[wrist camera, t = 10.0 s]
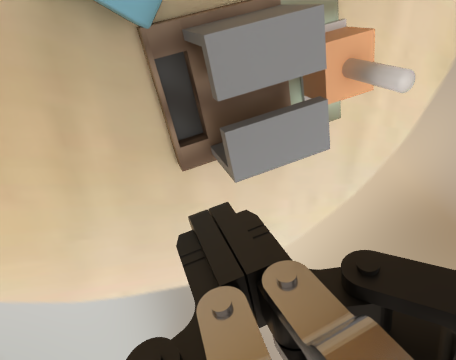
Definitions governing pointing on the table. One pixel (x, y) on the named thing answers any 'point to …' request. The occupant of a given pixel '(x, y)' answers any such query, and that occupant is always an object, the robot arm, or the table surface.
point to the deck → (200, 86)
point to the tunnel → (266, 84)
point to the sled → (352, 67)
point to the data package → (134, 10)
